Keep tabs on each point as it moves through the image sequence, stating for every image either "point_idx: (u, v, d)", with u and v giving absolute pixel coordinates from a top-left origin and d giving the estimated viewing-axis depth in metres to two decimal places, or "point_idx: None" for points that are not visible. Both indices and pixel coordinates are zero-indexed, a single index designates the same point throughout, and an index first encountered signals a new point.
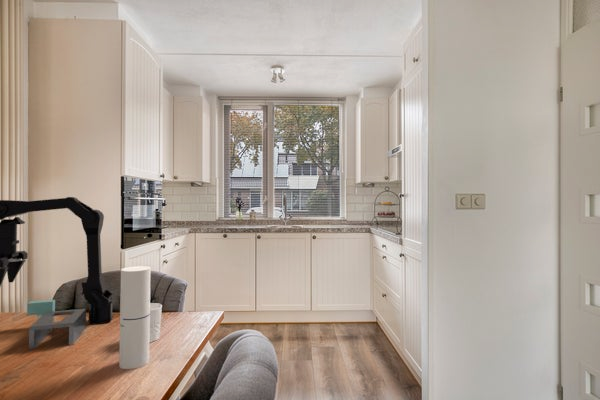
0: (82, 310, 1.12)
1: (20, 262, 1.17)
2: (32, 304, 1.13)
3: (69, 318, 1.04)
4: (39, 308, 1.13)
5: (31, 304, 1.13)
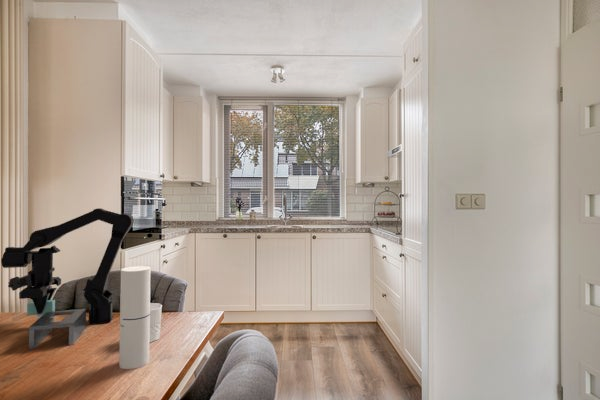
0: (82, 310, 1.12)
1: (52, 291, 1.17)
2: (32, 304, 1.13)
3: (69, 318, 1.04)
4: None
5: (31, 304, 1.13)
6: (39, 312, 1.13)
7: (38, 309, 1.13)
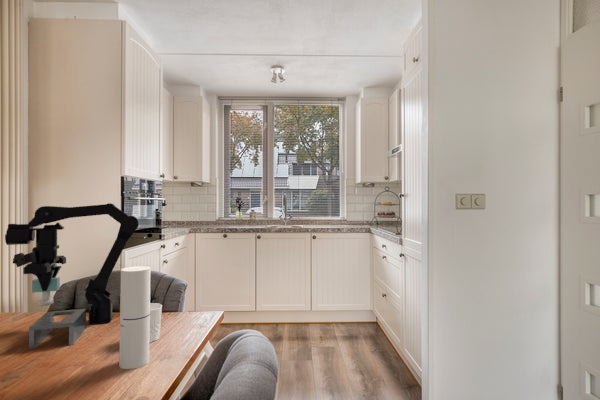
0: (82, 310, 1.12)
1: (56, 268, 1.16)
2: (37, 281, 1.11)
3: (69, 318, 1.04)
4: None
5: (36, 281, 1.11)
6: (44, 289, 1.12)
7: (43, 286, 1.11)
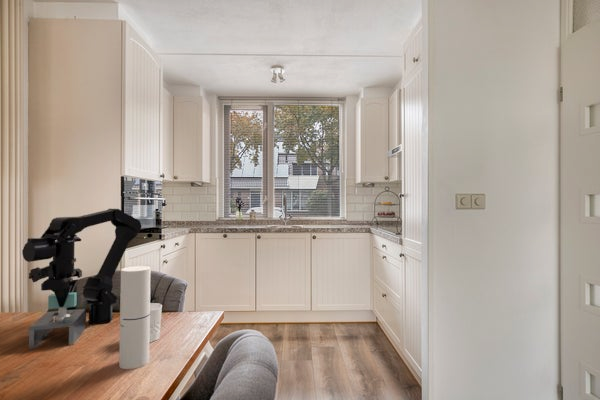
0: (82, 310, 1.12)
1: (73, 283, 1.10)
2: (53, 297, 1.06)
3: (69, 318, 1.04)
4: None
5: (52, 297, 1.06)
6: (61, 305, 1.06)
7: (60, 302, 1.06)
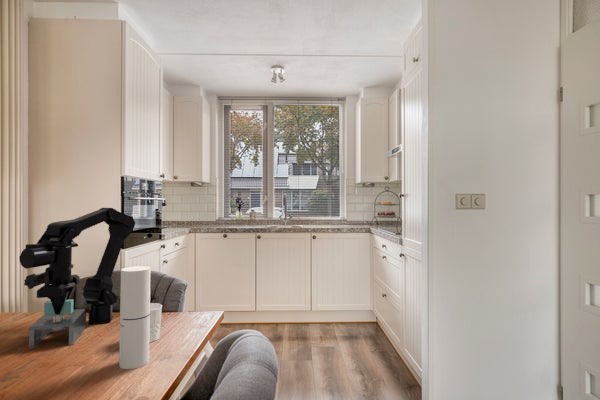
0: (82, 310, 1.12)
1: (70, 289, 1.08)
2: (49, 304, 1.03)
3: (69, 318, 1.04)
4: None
5: (48, 304, 1.03)
6: (57, 313, 1.03)
7: (56, 310, 1.03)
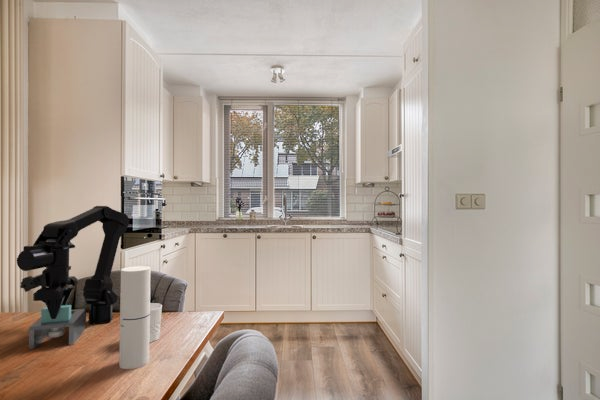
0: (82, 310, 1.12)
1: (69, 291, 1.06)
2: (46, 310, 1.01)
3: None
4: None
5: (45, 310, 1.01)
6: (53, 317, 1.00)
7: (52, 314, 0.99)
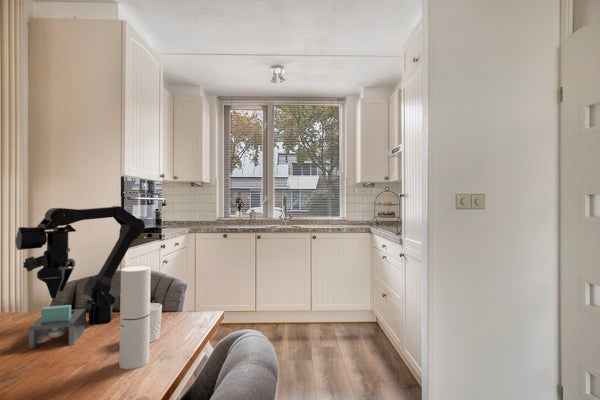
0: (82, 310, 1.12)
1: (70, 270, 1.15)
2: (46, 310, 1.01)
3: None
4: (54, 314, 1.01)
5: (45, 310, 1.01)
6: (53, 296, 1.05)
7: (52, 294, 1.05)
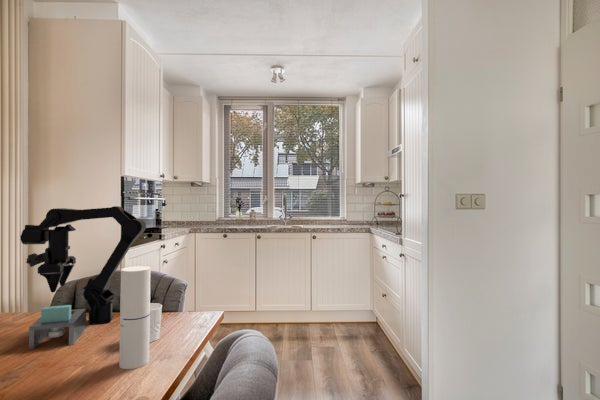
0: (82, 310, 1.12)
1: (70, 266, 1.24)
2: (46, 310, 1.01)
3: None
4: (54, 314, 1.01)
5: (45, 310, 1.01)
6: (52, 290, 1.13)
7: (51, 288, 1.13)
